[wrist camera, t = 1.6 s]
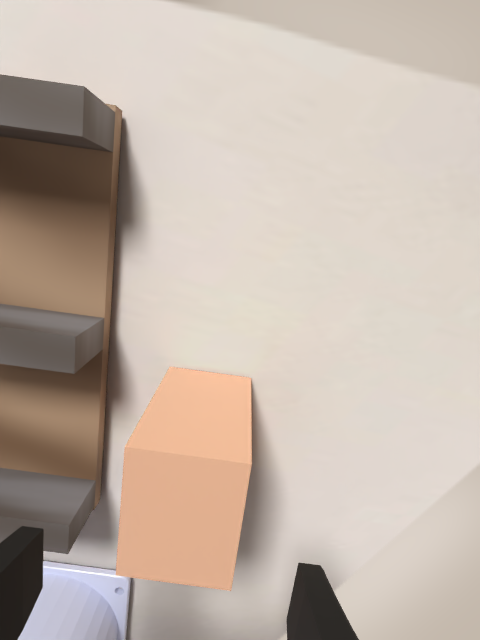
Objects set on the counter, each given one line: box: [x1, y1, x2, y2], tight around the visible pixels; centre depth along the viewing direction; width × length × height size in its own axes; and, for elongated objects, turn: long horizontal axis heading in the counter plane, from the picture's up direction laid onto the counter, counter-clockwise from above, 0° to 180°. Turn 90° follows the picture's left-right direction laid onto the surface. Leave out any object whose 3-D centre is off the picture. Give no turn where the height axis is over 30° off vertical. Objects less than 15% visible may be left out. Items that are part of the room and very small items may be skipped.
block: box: [116, 367, 252, 591], centre depth 16 cm, size 5×4×7 cm
